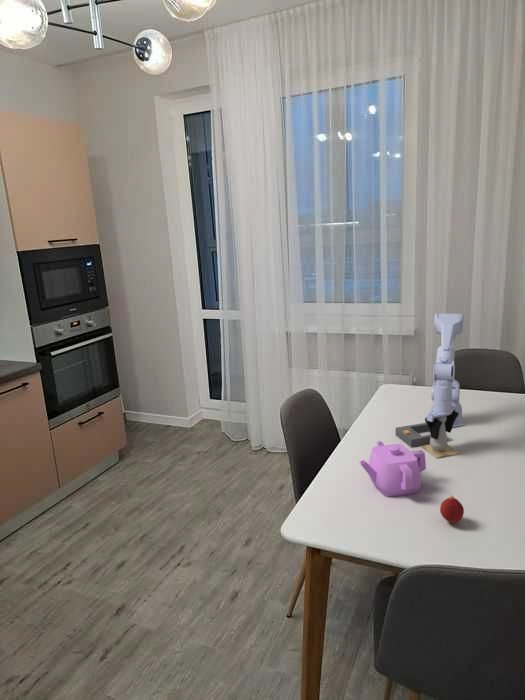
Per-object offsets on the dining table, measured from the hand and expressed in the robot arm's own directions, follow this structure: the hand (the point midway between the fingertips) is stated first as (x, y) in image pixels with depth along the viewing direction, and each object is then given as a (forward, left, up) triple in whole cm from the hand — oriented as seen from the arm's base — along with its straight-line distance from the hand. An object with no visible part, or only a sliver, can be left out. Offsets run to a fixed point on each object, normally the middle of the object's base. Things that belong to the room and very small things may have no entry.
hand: (441, 434), depth 168 cm
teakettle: (+26, +14, -6) cm, 30 cm away
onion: (+21, +37, -6) cm, 43 cm away
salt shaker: (+1, 0, -6) cm, 6 cm away
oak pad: (0, 0, -6) cm, 6 cm away
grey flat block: (+1, -11, -6) cm, 13 cm away
